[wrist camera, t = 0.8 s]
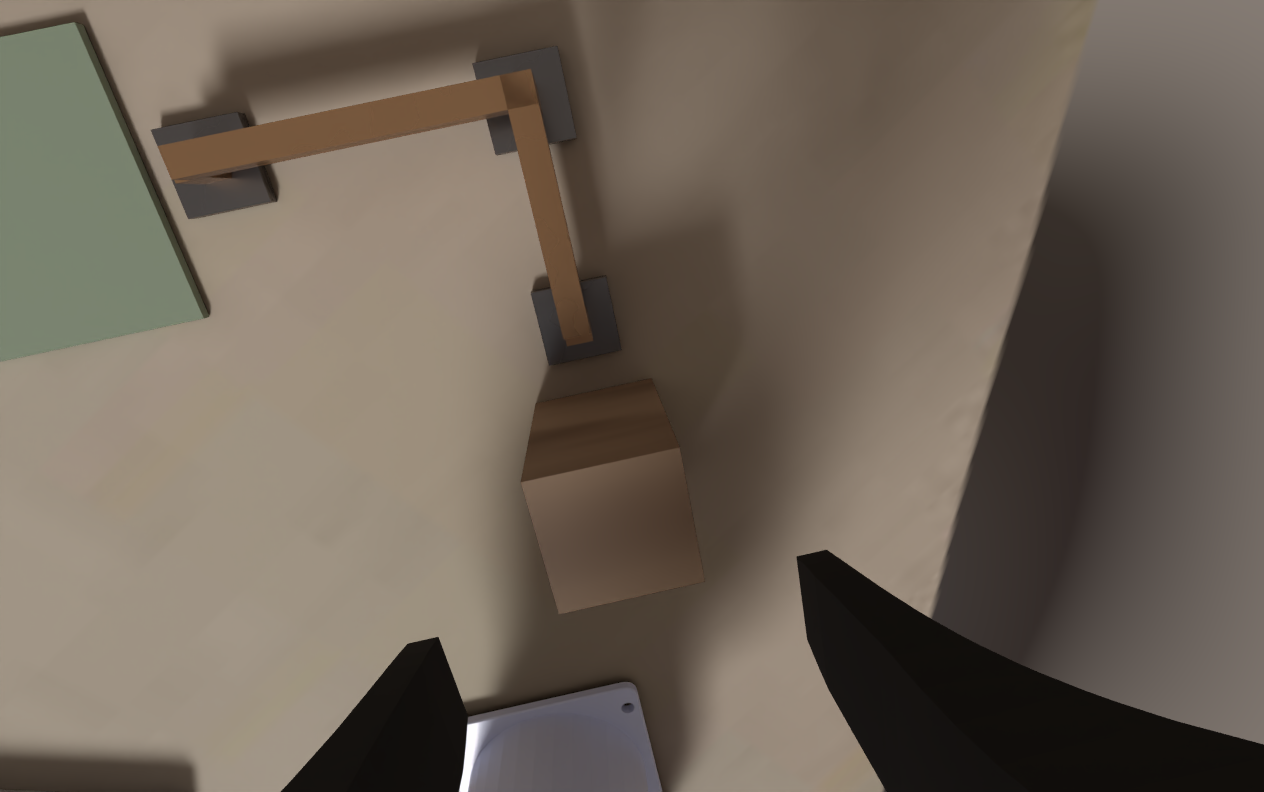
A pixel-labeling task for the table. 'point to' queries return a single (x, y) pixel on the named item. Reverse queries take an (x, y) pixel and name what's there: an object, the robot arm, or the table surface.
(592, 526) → the block
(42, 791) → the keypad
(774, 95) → the table surface
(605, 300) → the brown angled rail
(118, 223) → the mat
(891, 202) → the table surface
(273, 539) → the table surface
